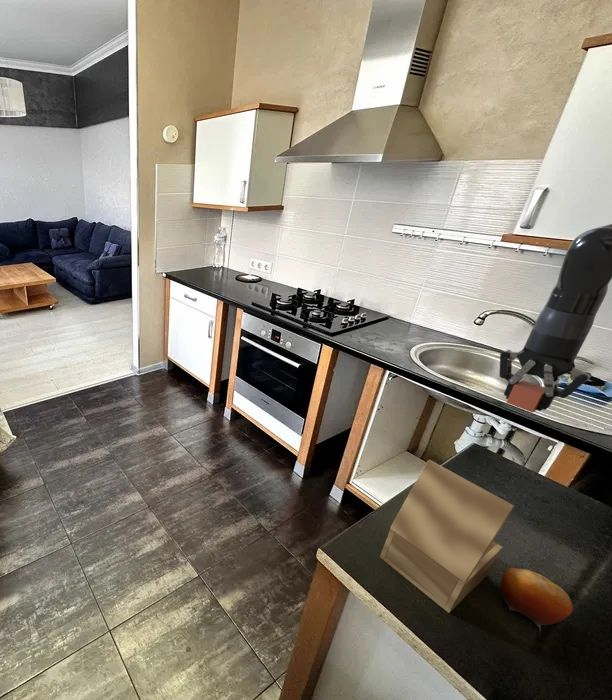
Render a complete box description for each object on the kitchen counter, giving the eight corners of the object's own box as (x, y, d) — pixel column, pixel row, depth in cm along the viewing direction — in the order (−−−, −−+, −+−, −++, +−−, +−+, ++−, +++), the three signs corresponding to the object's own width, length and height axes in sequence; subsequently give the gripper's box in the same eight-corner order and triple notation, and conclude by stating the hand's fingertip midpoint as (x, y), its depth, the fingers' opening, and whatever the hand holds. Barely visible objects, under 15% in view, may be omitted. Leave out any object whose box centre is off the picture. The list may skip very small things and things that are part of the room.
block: (514, 397, 84) (523, 380, 83) (541, 407, 81) (550, 389, 79) (505, 402, 82) (514, 384, 81) (532, 412, 79) (541, 394, 77)
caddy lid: (429, 459, 64) (428, 459, 64) (515, 506, 55) (513, 506, 55) (391, 527, 68) (389, 528, 67) (466, 582, 59) (464, 583, 58)
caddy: (418, 527, 77) (429, 501, 74) (487, 575, 68) (503, 547, 65) (379, 557, 71) (390, 529, 68) (448, 613, 61) (464, 584, 58)
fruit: (494, 610, 61) (513, 564, 60) (489, 596, 67) (507, 555, 66) (565, 650, 55) (586, 601, 55) (553, 632, 61) (572, 587, 61)
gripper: (618, 339, 71) (575, 415, 78) (521, 317, 82) (491, 385, 89) (605, 347, 67) (562, 425, 74) (506, 323, 79) (476, 393, 86)
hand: (523, 403), depth 82 cm, fingers closed on block, 4 cm apart
